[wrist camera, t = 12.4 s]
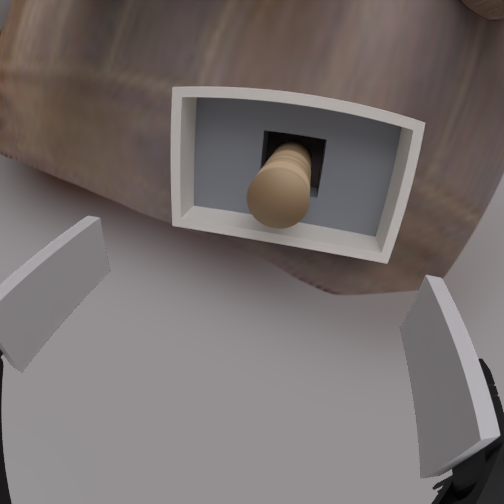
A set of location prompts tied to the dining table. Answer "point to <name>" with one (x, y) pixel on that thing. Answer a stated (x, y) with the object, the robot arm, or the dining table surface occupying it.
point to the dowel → (282, 186)
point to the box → (321, 198)
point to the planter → (487, 8)
